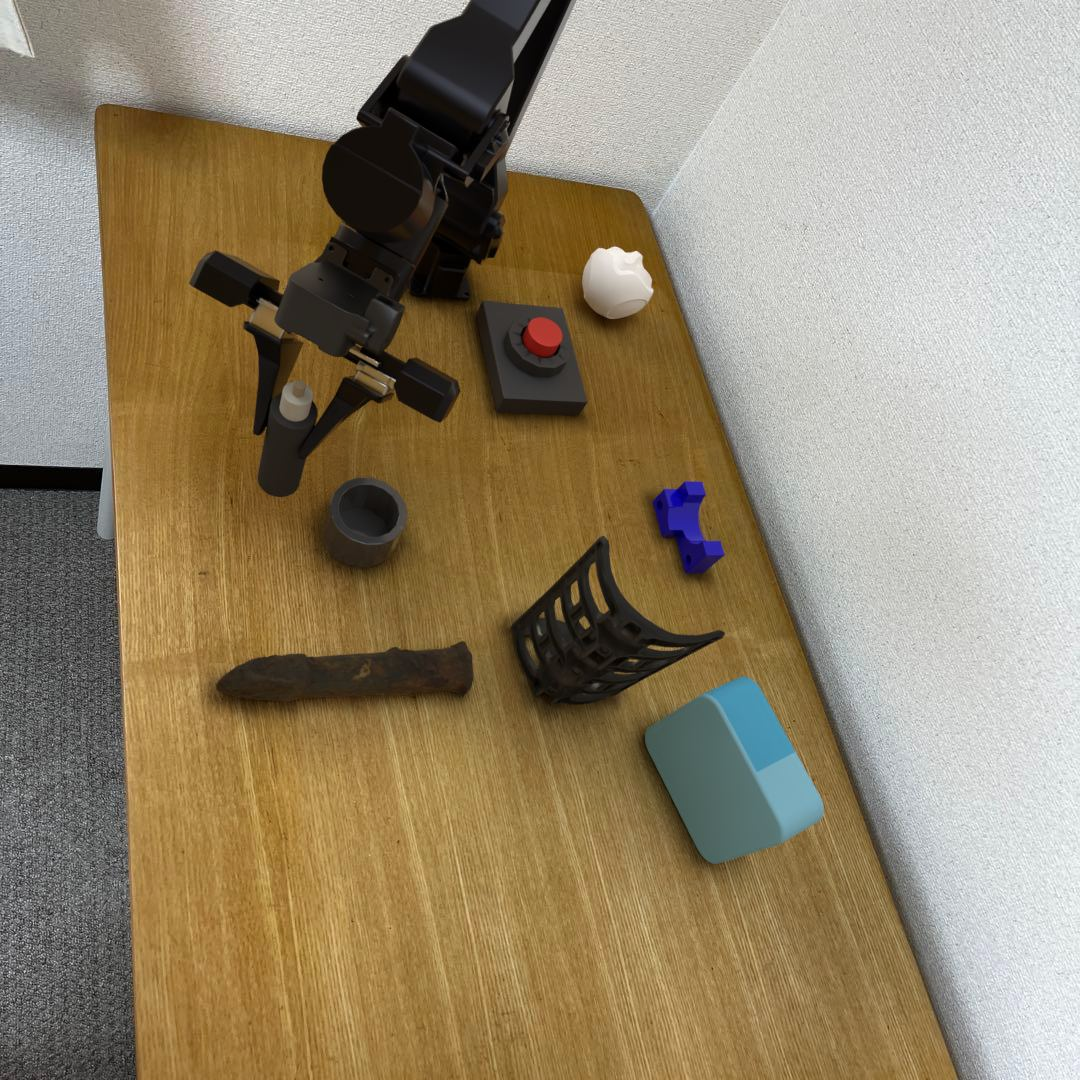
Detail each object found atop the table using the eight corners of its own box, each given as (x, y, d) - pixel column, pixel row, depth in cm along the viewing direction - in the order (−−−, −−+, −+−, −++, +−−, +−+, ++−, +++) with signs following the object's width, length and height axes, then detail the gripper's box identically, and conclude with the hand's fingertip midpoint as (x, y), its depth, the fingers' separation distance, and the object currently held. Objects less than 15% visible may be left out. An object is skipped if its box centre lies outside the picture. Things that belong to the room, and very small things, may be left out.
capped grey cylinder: (255, 461, 70) (273, 363, 60) (298, 462, 71) (322, 366, 61) (258, 497, 69) (277, 402, 58) (301, 497, 70) (326, 405, 60)
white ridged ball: (645, 313, 102) (678, 265, 96) (612, 345, 98) (644, 297, 91) (592, 268, 102) (621, 217, 96) (556, 298, 98) (584, 247, 92)
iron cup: (318, 503, 76) (326, 476, 73) (390, 503, 79) (401, 477, 75) (325, 569, 74) (334, 545, 70) (399, 567, 76) (411, 543, 73)
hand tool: (459, 654, 74) (475, 633, 71) (464, 700, 73) (481, 681, 69) (217, 657, 67) (220, 633, 64) (216, 708, 66) (219, 687, 62)
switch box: (475, 315, 93) (487, 289, 89) (554, 322, 96) (568, 297, 93) (496, 412, 88) (509, 388, 84) (578, 415, 91) (594, 392, 88)
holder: (630, 656, 80) (743, 579, 62) (604, 734, 76) (716, 676, 59) (519, 603, 79) (603, 509, 61) (488, 679, 75) (567, 603, 58)
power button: (519, 327, 89) (525, 315, 88) (552, 329, 90) (558, 318, 89) (526, 356, 88) (532, 345, 86) (559, 358, 89) (566, 347, 88)
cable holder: (652, 501, 90) (671, 481, 86) (682, 501, 91) (702, 481, 88) (672, 574, 86) (693, 555, 83) (703, 573, 88) (724, 555, 84)
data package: (745, 845, 76) (833, 816, 66) (705, 868, 73) (790, 842, 64) (677, 715, 79) (751, 669, 69) (638, 733, 77) (708, 689, 67)
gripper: (212, 148, 52) (104, 386, 55) (495, 310, 54) (377, 532, 57) (267, 182, 63) (175, 379, 66) (501, 316, 65) (402, 502, 68)
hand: (279, 446), depth 64 cm, fingers closed on capped grey cylinder, 3 cm apart
